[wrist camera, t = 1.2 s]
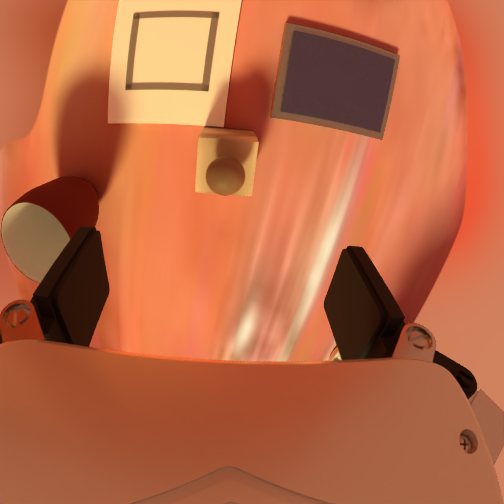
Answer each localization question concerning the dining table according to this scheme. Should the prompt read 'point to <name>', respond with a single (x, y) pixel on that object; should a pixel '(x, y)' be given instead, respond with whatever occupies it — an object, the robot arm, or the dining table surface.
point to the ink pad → (333, 81)
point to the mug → (47, 223)
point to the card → (172, 61)
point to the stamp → (226, 161)
